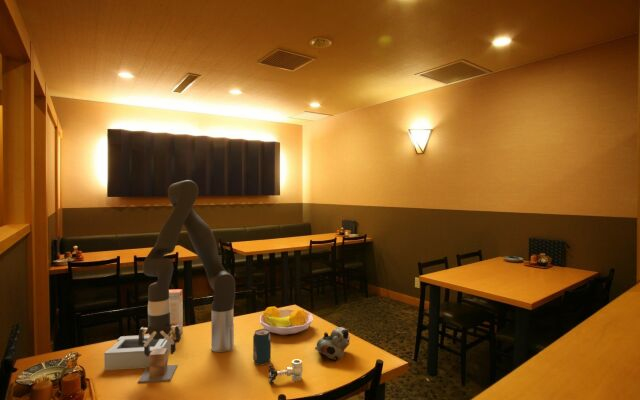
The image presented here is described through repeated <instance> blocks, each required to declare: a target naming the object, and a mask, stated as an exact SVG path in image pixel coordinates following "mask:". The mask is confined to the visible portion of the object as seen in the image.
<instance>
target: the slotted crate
mask: <svg viewBox="0 0 640 400" xmlns="http://www.w3.org/2000/svg"><path fill="white" fill-rule="evenodd" d="M149 337H150V335H149V334H144V341H147V339H148V338H149ZM116 340H117V341H116V343H115V344H113V346H112V347H111V348H109V349H107V350H106V351H105V352H104V355H103V357H104V359H103V360H104V363H103V364H104V371H113V370H114V371H115V370H130V369H131V370H132V369H146V368H147V367H149V356H147V357H146V355H145V354H144V346H142V345H141V346H139V345H138V340H139V335H126V336H125V335H123V336H120V337H118V339H116ZM149 344H150V353H151V352H152V350H153V349H162V348H167V355H168V354H169V353H170V352H171V343H170V342H169V341H168V340H167V339H166V338H164V339H157V340H155V339H152V340H151V341H150V343H149Z"/></svg>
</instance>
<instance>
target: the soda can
mask: <svg viewBox="0 0 640 400" xmlns="http://www.w3.org/2000/svg"><path fill="white" fill-rule="evenodd" d="M271 337H272V336H271V332H269V331H268V330H266V329H265V328H261V329H257V330H255V331H254V334H253V336H252V338H253V339H252V340H253V341H252V342H253V343H252V345H253V346H252V348H253V349H252V352H253V353H252V355H253V356H252V360H253V362H254V363H255V364H256V365H260V366H261V365H262V366H263V365H267V364H268V363H269V362H270V361H271V358H272V357H271V355H272V354H271V353H272V351H271V350H272V349H271V347H272V345H271V343H272V342H271V341H272V339H271Z"/></svg>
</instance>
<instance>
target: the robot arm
mask: <svg viewBox="0 0 640 400" xmlns="http://www.w3.org/2000/svg"><path fill="white" fill-rule="evenodd" d="M167 196H168V199H169V202H170V203H171V205H172V206H173V210H172V212H171V214H170V215H169V216H168V218H167V219H166V220H165V222H164V223H163V225H162V227H161V229H160V231H159V233H158V236H157V239H156V242H155V244H154V246H153V247H152V249H151V250H150V251H149V253H148V254H147V256H146V257H145V258H144V261H143V263H142V271H143V274H144V275H145V276H147V277H153V278H154V277H157V281H155V282H153V283H151V284H149V286H148V291H147V295H148V296H147V297H148V299H147V300H148V302H147V321H148V322H147V323H148V325H147V327H144V326H141V327H140V329H139V330H138V336H139V340H138V345H139V346H141V345H142V346H144V354H145V355H146V357H147V356H149V355H150V344H149V343H150V341H151V340H152V339H155V340H157V339H164V338H166V339H167V340H168V341H169V342H170V344H171V349H170V355H173V354H174V353H175V352H176V349H177V348H176V346H177V345H176V344H177V343H180V341H181V339H182V336H181V335H182V333H181V334H180V325H179V324H177V325H176V326H171V322H170V301H169V290H170V285H171V281H172V277H173V273H174V263H173V261H172V260H171V258H168V257H165V255H169V254H172V253H174V251H175V249H176V246H177V243H178V241H179V236H181V232H182V228H183V227H184V229H185V231H186V234H187V235H188V237H189V241H190V242H191V245H192V246H193V249H194V251H195V252H196V255H197V257H198V259H199V261H200V262H201V263H202V265H203V267H204V270H205V271H204V272H205V273H206V276H207V281H208V284H209V286H210V288H211V289H212V290H213V301H212V302H211V306H210V310H211V311H210V312H211V313H210V314H211V319H210V320H211V321H210V322H211V323H210V324H211V329H210V332H211V337H210V338H211V343H210V344H211V350H212V351H213V352H215V353H224V352H229V351H233V350H234V345H235V344H234V343H235V333H234V332H235V323H234V304H235V301H236V280H235V278H234V276H233V275H232V274H231V273H229V272H228V271H227V270H226V269H225V267H224V265H223V264H222V263H223V262H221V259H220V256H219V249H218V244H217V240H216V238H215V235H214V233H213V231H212V229H211V227H210V226H209V224H208V223H206V221H204V220H203V219H202V218H201V216H199V214H197V212H196V211H195V210H194V208H193V206H194V205H195V203H196V200H197V199H198V196H199V187H198V185H197V183H196V182H195V181H193V180H191V179H190V180H189V179H186V180H181V181H177V182H174V183H171V184H170V185H169V186H168V188H167ZM171 329H172V330H173V331H174V332H175V334H176V336H173V335H172V334H171V333H170V331H171ZM146 332H147V334H148V335H149V334H150V337H149V338H148V339H147V341H144V335H146Z"/></svg>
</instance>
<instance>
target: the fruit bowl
mask: <svg viewBox="0 0 640 400" xmlns="http://www.w3.org/2000/svg"><path fill="white" fill-rule="evenodd" d="M313 321H314V319H313V313H310V312H308V311H305V310H304V309H291V308H290V309H289V308H283V309H278V307H276V306H269V307H268V306H267V307H266V308H265V310H264V311H263V313H262V314H261V315H260V316H259V322H260V325H261V326H262V327H263V329H266V330H268V331H269V333H274V334H277V335H281V336H286V335H291V334H298V333H301V332H303V331H306V330H308V328H309V327H310V325H311V324H312V323H313Z"/></svg>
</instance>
